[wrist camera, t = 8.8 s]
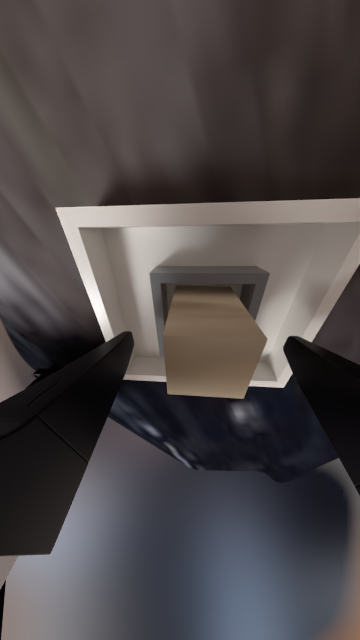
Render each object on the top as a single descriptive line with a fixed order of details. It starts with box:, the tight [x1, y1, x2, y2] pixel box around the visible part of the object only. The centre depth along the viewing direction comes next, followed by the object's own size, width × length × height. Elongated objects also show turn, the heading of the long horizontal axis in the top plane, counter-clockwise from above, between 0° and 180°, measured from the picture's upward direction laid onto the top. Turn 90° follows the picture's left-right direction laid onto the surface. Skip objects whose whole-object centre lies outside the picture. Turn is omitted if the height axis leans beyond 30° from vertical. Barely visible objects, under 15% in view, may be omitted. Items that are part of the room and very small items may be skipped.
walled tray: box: [56, 198, 360, 388], centre depth 11 cm, size 13×15×3 cm
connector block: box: [162, 286, 268, 399], centre depth 9 cm, size 4×4×6 cm
